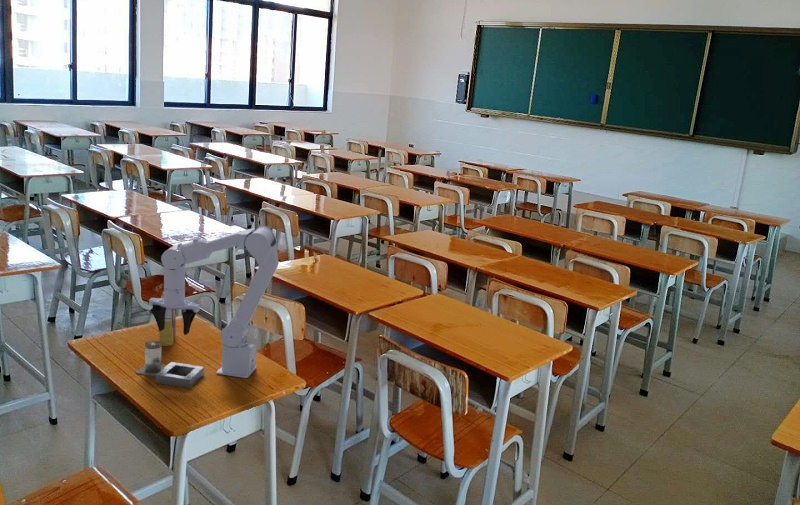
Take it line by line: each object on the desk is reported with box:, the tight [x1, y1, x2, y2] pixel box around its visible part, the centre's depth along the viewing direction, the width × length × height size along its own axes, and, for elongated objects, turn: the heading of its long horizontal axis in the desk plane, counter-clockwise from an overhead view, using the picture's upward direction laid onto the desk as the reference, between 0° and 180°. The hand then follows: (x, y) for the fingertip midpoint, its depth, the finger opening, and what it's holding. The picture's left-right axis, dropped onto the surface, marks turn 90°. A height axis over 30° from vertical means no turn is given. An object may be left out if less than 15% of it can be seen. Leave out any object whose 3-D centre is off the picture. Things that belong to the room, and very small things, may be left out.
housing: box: [155, 361, 205, 389], centre depth 185 cm, size 10×9×2 cm
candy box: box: [158, 291, 177, 347], centre depth 209 cm, size 9×4×15 cm, turn 11°
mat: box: [135, 364, 167, 378], centre depth 189 cm, size 7×7×1 cm
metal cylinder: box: [144, 340, 162, 373], centre depth 188 cm, size 4×4×8 cm
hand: (174, 331), depth 192 cm, fingers open, 7 cm apart
